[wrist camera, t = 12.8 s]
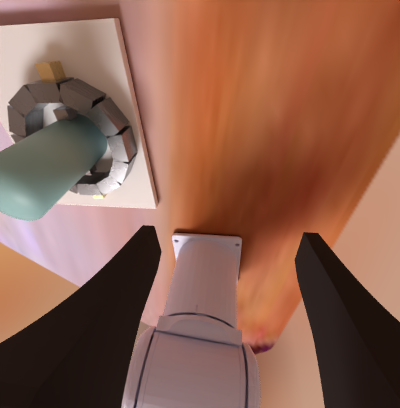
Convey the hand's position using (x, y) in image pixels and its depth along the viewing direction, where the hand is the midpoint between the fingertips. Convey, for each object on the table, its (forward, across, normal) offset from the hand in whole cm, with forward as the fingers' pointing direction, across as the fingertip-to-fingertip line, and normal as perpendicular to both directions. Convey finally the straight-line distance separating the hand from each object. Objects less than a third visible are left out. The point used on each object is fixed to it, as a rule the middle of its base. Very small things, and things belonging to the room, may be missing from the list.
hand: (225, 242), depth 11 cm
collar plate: (+10, +13, -2) cm, 17 cm away
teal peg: (+9, +12, -2) cm, 15 cm away
